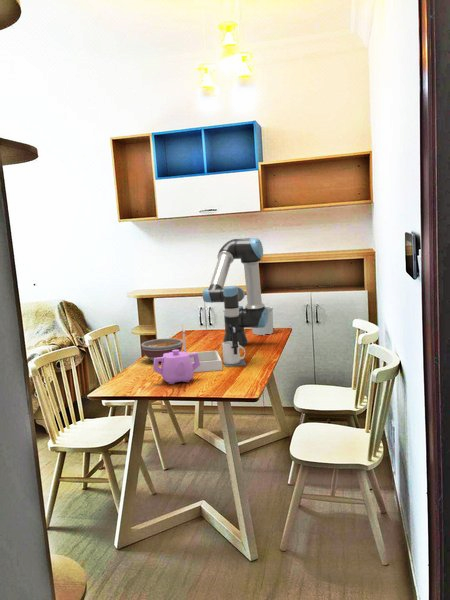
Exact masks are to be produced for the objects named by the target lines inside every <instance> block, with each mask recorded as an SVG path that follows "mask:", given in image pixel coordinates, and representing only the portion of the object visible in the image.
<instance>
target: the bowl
mask: <svg viewBox="0 0 450 600" xmlns="http://www.w3.org/2000/svg"><path fill="white" fill-rule="evenodd" d="M183 346H184V345H183V339H179V338H169V337H168V338H156V339H151V340H147V341H143V342H142V343H141V346H140V347H141V349H142V352H143V354H144V355H145V357H147V358H148V359H149V360H150V361H152V362H154V358H158V357H163V354H165V353H169V352H172V350H179V352H180V351H182V349H183ZM159 362H160V363H162V361H159Z"/></svg>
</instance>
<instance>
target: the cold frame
mask: <svg viewBox="0 0 450 600" xmlns="http://www.w3.org/2000/svg"><path fill="white" fill-rule="evenodd" d="M181 329H182V342H183V345H182V346H183V351H184V352H186V353H188V354H192V353H197V354H198V358H199V362H200V366H199V367H197V368H196V369H195V370H194V371H193V372H194V373H205V372H217V371H223V361H222V358H221V356H220V353H219V351H218V350H207V351H193V352H187V345H186V344H187V343H186V329H185V325H184V323H181ZM190 360H191V362H192V364H193V363H194V357H191V358H190Z"/></svg>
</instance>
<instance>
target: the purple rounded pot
mask: <svg viewBox="0 0 450 600" xmlns="http://www.w3.org/2000/svg"><path fill="white" fill-rule="evenodd" d="M188 353H189V352H187V351H186V352H184V350H183V351H182V350H181V351H180V352H179V350H172V352H169V353H165V354H163V357H158V358H154V361H153V368H152V370H153V372H155V373H158V374H159V375H161V377H162V379H163V380H164V381H165V382H166V383H168V385H169V384H173V385H176V383H179V382H183V383H184V382H188V383H190V381H191V380H193V378H194V373H195V372H193V371H194V370H195V369H196V368H197V367H199V366H200V362H201V361H199V358H198V354H197V353H192V352H191V353H192V354H188ZM191 357H194V363H193V364H192V362H191V360H190V358H191ZM159 361H162V362H160V363H161V365H160V367H159Z"/></svg>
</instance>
